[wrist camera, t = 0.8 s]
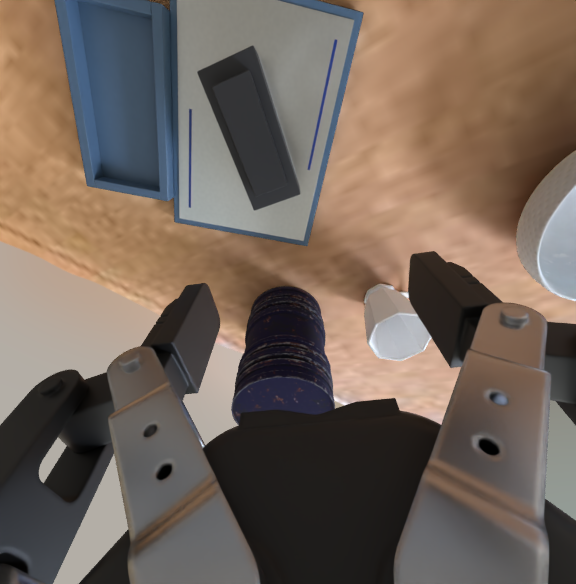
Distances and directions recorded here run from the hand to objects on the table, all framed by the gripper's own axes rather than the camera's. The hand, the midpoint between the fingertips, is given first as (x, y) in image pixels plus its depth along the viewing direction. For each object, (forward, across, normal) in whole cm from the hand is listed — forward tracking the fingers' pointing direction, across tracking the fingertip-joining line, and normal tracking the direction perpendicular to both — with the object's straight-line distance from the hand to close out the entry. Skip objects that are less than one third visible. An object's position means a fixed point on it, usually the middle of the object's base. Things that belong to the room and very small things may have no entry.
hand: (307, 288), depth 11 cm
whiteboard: (+22, +4, -5) cm, 23 cm away
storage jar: (+22, +4, +17) cm, 28 cm away
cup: (+22, -10, +16) cm, 29 cm away
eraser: (+21, +3, -5) cm, 21 cm away
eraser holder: (+22, +14, -9) cm, 27 cm away
